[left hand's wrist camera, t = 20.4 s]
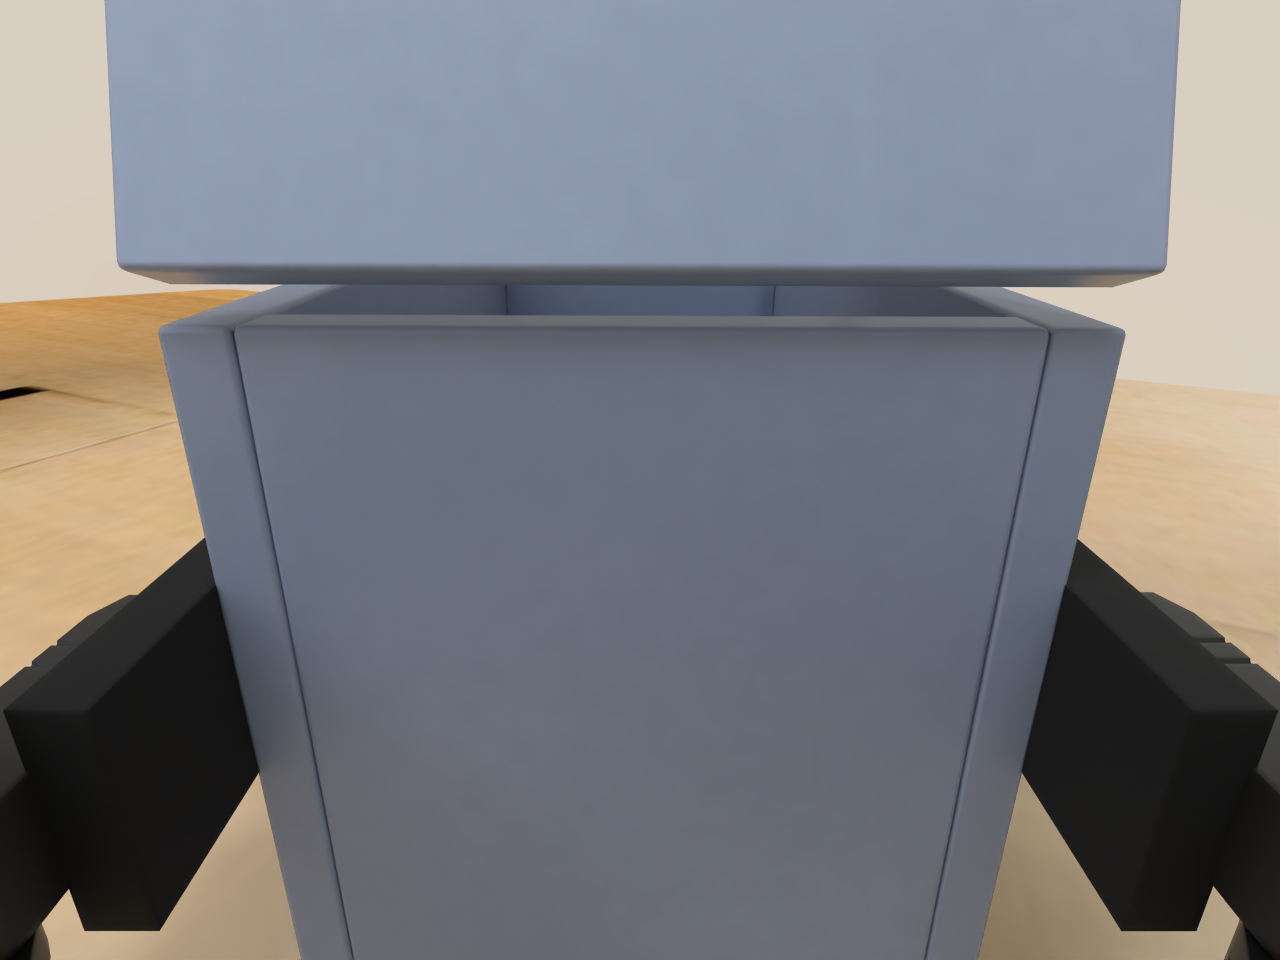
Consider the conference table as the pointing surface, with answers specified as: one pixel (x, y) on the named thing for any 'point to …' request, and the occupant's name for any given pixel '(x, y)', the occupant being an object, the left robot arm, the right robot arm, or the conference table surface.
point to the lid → (643, 141)
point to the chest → (640, 604)
